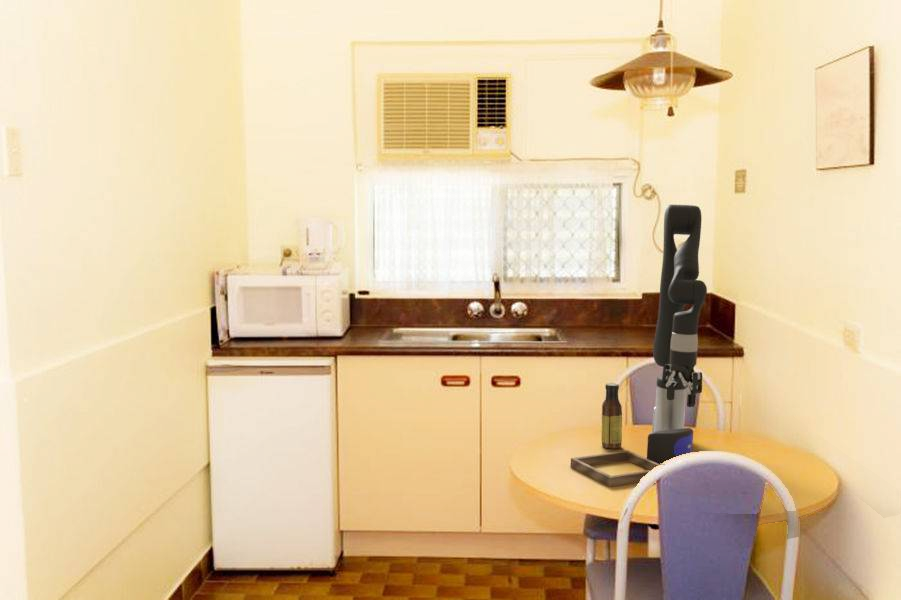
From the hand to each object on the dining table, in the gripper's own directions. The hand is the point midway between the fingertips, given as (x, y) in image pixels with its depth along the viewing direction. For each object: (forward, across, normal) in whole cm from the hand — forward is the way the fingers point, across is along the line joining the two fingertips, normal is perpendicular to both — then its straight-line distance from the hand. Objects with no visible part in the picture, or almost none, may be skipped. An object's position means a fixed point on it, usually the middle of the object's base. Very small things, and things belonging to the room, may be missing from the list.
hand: (680, 403), depth 245 cm
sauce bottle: (+18, +21, +8) cm, 29 cm away
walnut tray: (+18, 0, +21) cm, 28 cm away
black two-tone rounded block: (+18, +3, 0) cm, 19 cm away
